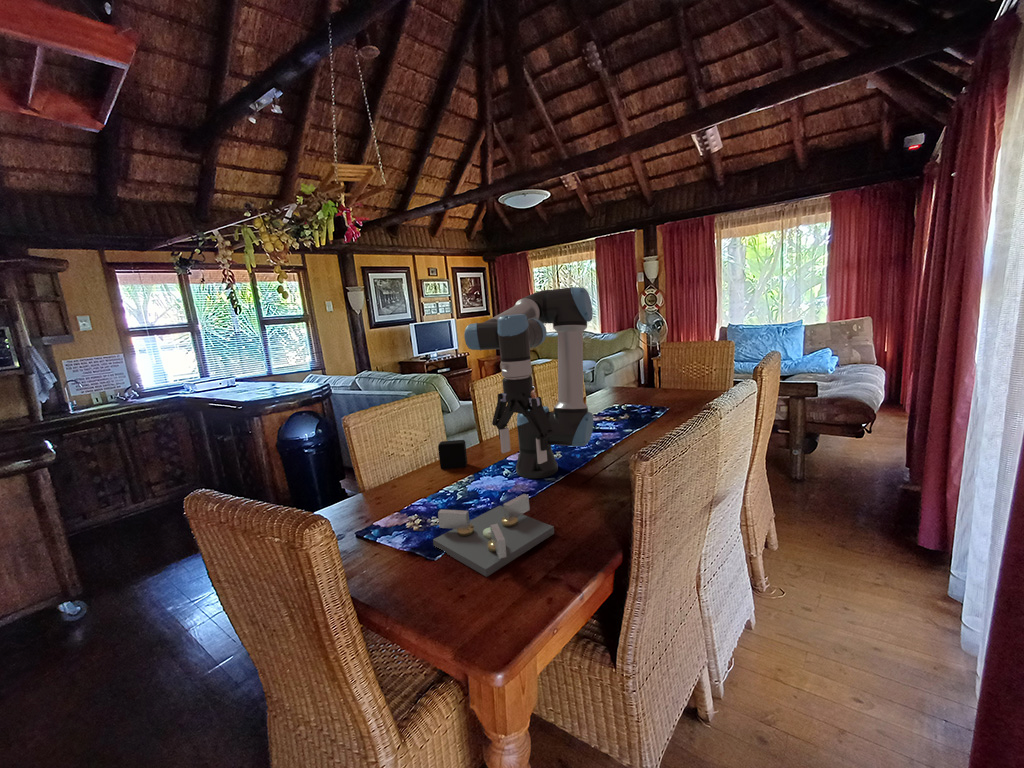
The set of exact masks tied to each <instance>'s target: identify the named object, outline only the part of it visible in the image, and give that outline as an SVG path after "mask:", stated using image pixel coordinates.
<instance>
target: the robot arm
mask: <svg viewBox="0 0 1024 768" xmlns="http://www.w3.org/2000/svg"><path fill="white" fill-rule="evenodd" d="M593 314H594V311H593V304H592V300H591V297H590V294H589V291H588V290H587V289H586V288H584V287H581V286H579V287H576V286H575V287H574V286H570V287H566V288H565V287H564V288H556V289H555V288H554V289H544V290H539V291H536V292H533V293H531V294H529V295H527V296H524V297H523V298H521V299H518V300H517V301H516V302H515V304H514V306H512V307H510V308H508V309H507V310H505V311H503V312H501V313H498V314H497V315H495V316H494V317H491V318H489V319H488V320H485V321H484V322H475V323H469V324H468V325H467V326H466V327H465V329H464V333H463V334H464V335H463V336H464V341H465V342H464V343H465V345H466V347H467V348H468V349H470V350H471V351H485V350H486V351H487V350H488V351H489V350H490V351H491V350H499V354H500V366H501V368H500V369H501V376H502V377H503V378H502V391H503V392H501V393H498V394H497V403H496V405H495V410H494V414H493V418H492V421H491V424H492V425H493V427H494V426H496V429H498V438H499V440H500V441H499V442H500V451H501V453H502V454H505V453H508V452H510V451H511V449H512V448H511V439H510V438H511V437H510V428H509V427H508V424H509V423H510V422H509V421H511V419H512V417H513V416H514V414H515V413H517V415H516V427H517V436H518V437H517V438H518V440H517V441H518V451H519V452H518V457H517V462H516V465H515V471H516V474H517V476H520V477H521V478H527V479H543V478H547V477H550V476H553V475H554V474H557V472H558V470H559V466H558V461H557V460H556V457H555V454H554V451H553V450H552V446H568V447H569V446H570V447H572V448H573V447H585V446H587V445H588V444H589V443H590V440H591V437H592V434H593V430H594V414H593V413H592V412H589V406H588V405H587V404H586V403H584V346H583V345H584V340H583V339H584V337H583V335H584V331H585V330H586V329H587V328H588V322H590V321H592V320H593ZM546 324H549V325H550V324H552V328H553V330H554V331H555V332H557V396H558V397H557V403H555V405H554V406H553V411H550V408H549V406H547V405H543V400H542V397H541V396H537V397H532V392H533V389H534V386H533V376H531V375H532V373H533V371H532V363H531V349H533V348H536V347H539V346H540V345H542V344H543V342H545V340H546V338H547V328H546Z"/></svg>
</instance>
